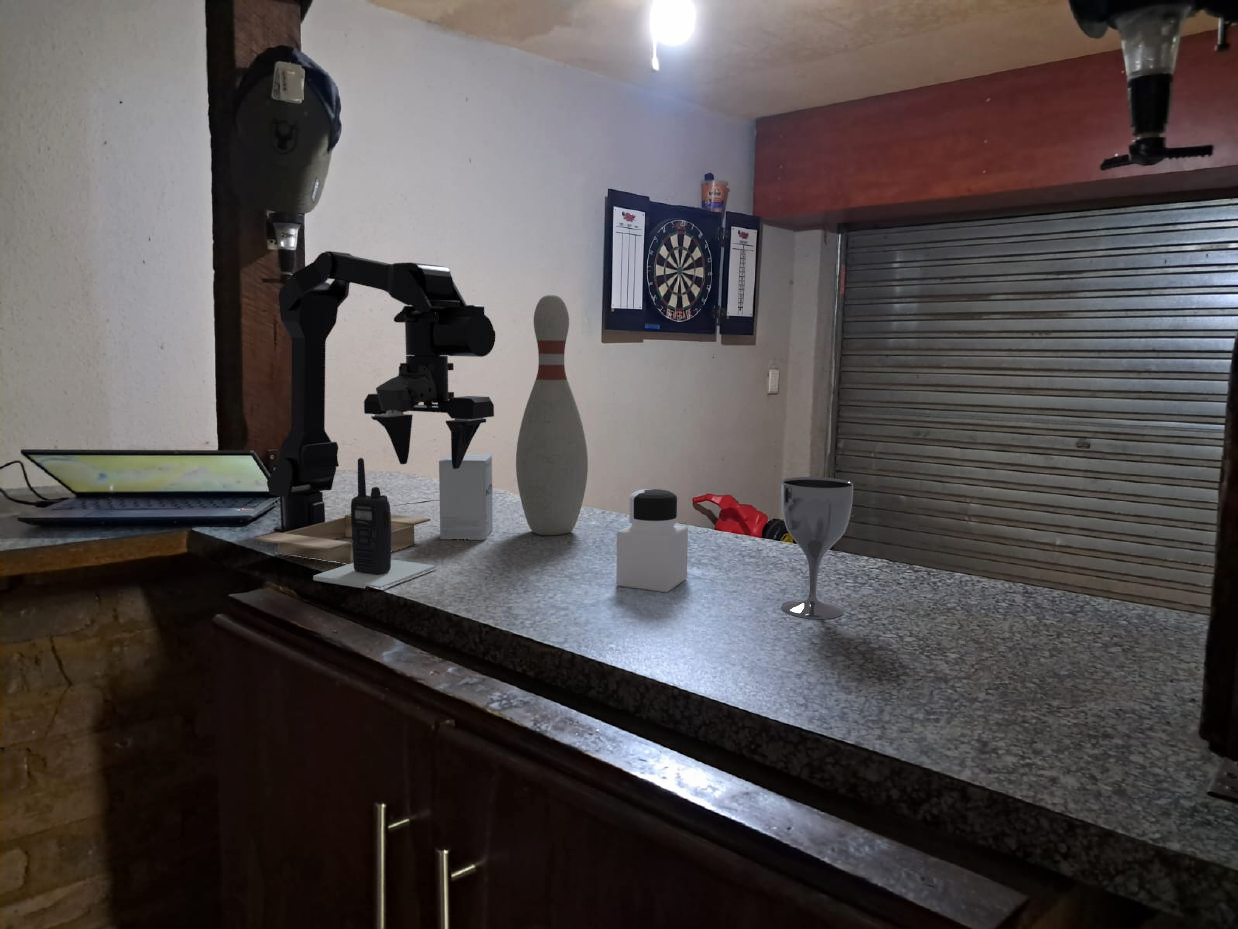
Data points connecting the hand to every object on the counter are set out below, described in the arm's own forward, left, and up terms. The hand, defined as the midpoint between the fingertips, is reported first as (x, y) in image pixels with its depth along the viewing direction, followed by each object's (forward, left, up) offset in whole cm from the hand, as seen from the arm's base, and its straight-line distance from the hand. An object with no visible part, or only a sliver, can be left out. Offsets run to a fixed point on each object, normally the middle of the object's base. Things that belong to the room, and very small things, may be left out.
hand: (429, 466), depth 119 cm
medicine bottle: (+34, +1, -13) cm, 37 cm away
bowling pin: (+8, +21, -13) cm, 26 cm away
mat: (0, -12, -13) cm, 18 cm away
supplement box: (-3, +13, -13) cm, 19 cm away
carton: (-13, -3, -13) cm, 19 cm away
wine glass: (+55, -1, -13) cm, 57 cm away
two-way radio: (0, -12, -13) cm, 17 cm away
